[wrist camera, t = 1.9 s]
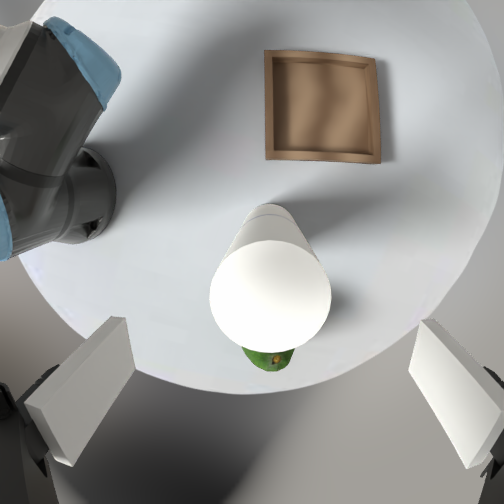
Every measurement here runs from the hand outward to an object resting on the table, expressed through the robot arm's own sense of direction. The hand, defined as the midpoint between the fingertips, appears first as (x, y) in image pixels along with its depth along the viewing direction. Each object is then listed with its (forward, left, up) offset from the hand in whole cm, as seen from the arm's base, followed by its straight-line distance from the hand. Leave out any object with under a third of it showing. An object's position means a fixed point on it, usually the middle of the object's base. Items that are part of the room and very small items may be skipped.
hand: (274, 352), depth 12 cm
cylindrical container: (0, 0, -31) cm, 31 cm away
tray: (+7, +17, -31) cm, 36 cm away
